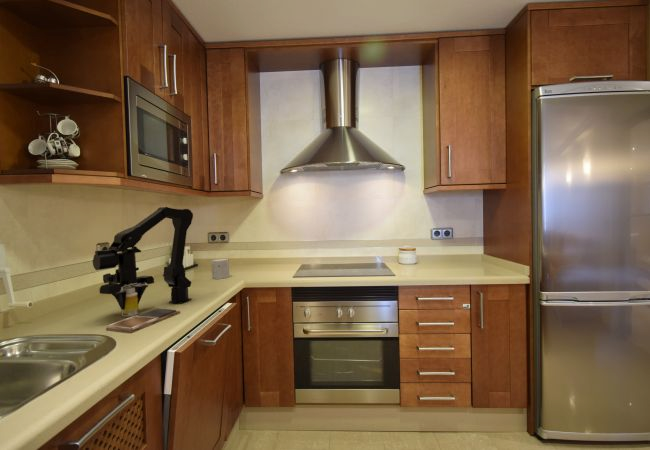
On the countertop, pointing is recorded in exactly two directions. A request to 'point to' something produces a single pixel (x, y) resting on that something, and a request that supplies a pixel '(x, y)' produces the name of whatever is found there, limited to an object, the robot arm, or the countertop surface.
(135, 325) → the board
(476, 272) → the countertop surface
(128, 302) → the supplement bottle
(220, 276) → the small box
